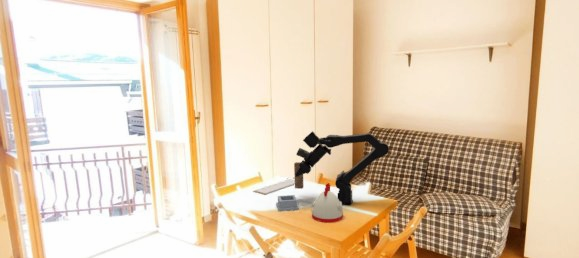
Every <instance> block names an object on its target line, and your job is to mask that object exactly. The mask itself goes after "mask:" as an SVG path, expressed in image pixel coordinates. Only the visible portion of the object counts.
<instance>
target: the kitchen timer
mask: <svg viewBox="0 0 579 258" xmlns="http://www.w3.org/2000/svg"><path fill="white" fill-rule="evenodd" d="M311 218H312V219H313V220H314V221H316V222H320V223H324V224H325V223H328V224H329V223H336V222H337V223H338V222H340V221H342V220H343V218H344V211H343V204H342V202H340V201H339V199H338V195H336V194H335V193H334V192H332V191H331V183H329V182H327V183H326V184H325V188H324V190H323V191H322V192H320V193H319V195H318V196H317V197H316V198H315V199H314V202H313V203H312V210H311Z"/></svg>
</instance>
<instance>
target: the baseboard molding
mask: <svg viewBox="0 0 579 258" xmlns="http://www.w3.org/2000/svg"><path fill="white" fill-rule="evenodd" d="M294 184H295V177H293V178H290V179H289V177H287V178H286V179H285V180H283V181H279V182H276V183H273V184H270V185H268V186H263V187H261V188H258V189H255V190H252V192H253V193H257V194H260V195H265V196H266V195H269V194H272V193H275V192H277V191H280V190H283V189H286V187H287V188H289V187H291V186H295V185H294Z"/></svg>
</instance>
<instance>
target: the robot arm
mask: <svg viewBox="0 0 579 258" xmlns="http://www.w3.org/2000/svg"><path fill="white" fill-rule="evenodd" d="M302 141H303V142H304V143H305V144H306V145H307V146H308V147H309V148H310V149H311V148H313V150H312V151H308V150H306V149H303V148H300V147H299V148H298V150H297V152H296V156H298V157H300V158H303V159H302V161H301V163H300V164H299V166H300V168H299V170H298V171H297V173H296V174H295V175H294V177H295V176H296V177H297V176H300V175H302V174H303V175H304V174H306V175H308V174H310V172H311V171H312V168H313V167H314V166H315V165H316V164H317V163H318V162H320V161H321V160H322V158H323V157H324V156H325V155H326V154H328V155H329V156H330V155H331V154H332V148H334V147H338V146H342V145H347V144H357V143H365V142H366V143H368V144H369V145H371V146H372V149H371V151H370V152H369V153H368V154H367V155H366V156H364V158H362V159H361V160H360V161H359V162H358V163H356V164H355V165H354V166H353V167H351V168H350V169H348V171H345V170H342V171H341V172H340V173H339V174H337V176H336V178H335V183H334V185H335V187H336V189H338V193H337V198H338V199H339V201H340V202H342V205H347V206H352V203H354V200H353V190H352V184H351V182H352V181H353V179H354V178H355V177H356V176H358V174H360V173H361V172H362V171H363V170H365V169H366V168H367V167H369V165H371V164H372V163H373V162H375V161H376V160H378V159H381V158H383V157H384V156H386V155H387V154H388V153H389V151H390V147H389V146H388V144H387V143H386V142H385V141H380V140H379V139H378V138H377V137H375V136H374V135H373V134H372V133H370V132H366V133H360V134H359V133H358V134H350V135H349V134H348V135H339V134H328V135H327V136H326V137H320V138H319V136H317V134H316V133H315V132H314V131H311V132H310V133H309V134H307V135H306V136H305V137H304V138H303V139H302Z"/></svg>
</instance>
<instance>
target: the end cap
mask: <svg viewBox="0 0 579 258" xmlns="http://www.w3.org/2000/svg"><path fill="white" fill-rule="evenodd" d="M275 204H276V208H277V211H278V212H287V211H288V212H289V211H299V210H300V207H299V205H298V199H297V197H296V195H295V194H289V195H278V196H277V202H275Z"/></svg>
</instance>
